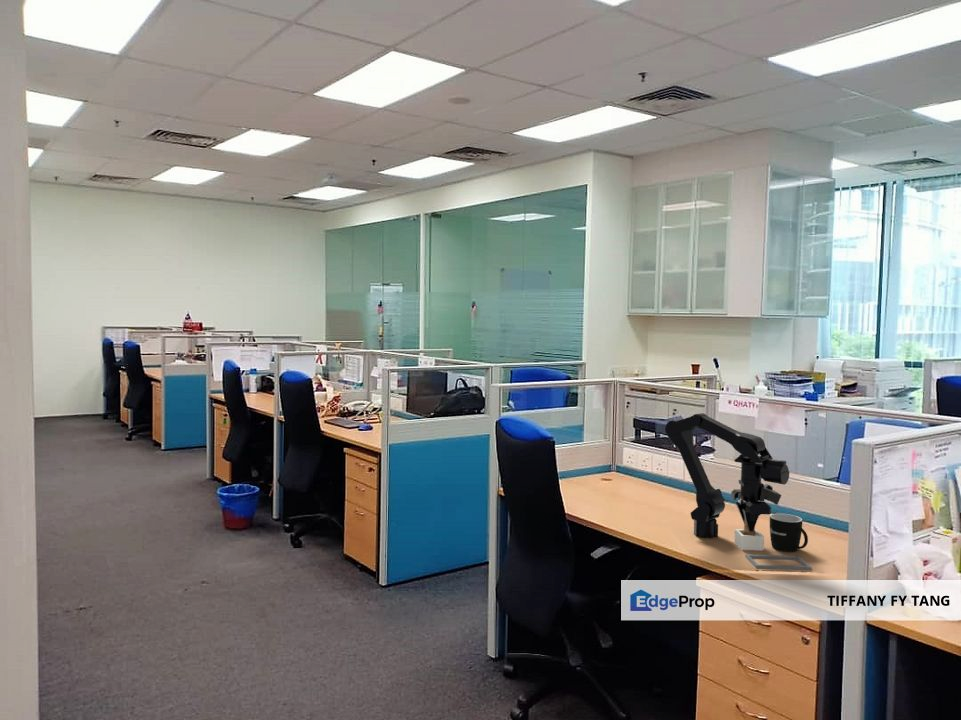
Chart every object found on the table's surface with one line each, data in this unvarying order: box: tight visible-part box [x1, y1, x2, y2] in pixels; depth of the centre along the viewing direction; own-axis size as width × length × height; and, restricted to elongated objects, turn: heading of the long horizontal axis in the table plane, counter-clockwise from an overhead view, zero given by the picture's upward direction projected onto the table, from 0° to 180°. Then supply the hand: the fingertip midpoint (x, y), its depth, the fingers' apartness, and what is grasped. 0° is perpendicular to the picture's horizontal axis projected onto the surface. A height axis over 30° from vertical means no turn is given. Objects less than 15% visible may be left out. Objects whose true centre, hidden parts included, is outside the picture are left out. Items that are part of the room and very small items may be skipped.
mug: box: [769, 513, 809, 553], centre depth 206 cm, size 12×9×10 cm
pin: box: [743, 517, 756, 535], centre depth 209 cm, size 3×3×9 cm
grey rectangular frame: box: [745, 553, 813, 573], centre depth 195 cm, size 15×9×2 cm, turn 86°
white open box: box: [733, 528, 765, 551], centre depth 209 cm, size 7×7×5 cm
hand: (749, 529), depth 209 cm, fingers closed on pin, 3 cm apart
